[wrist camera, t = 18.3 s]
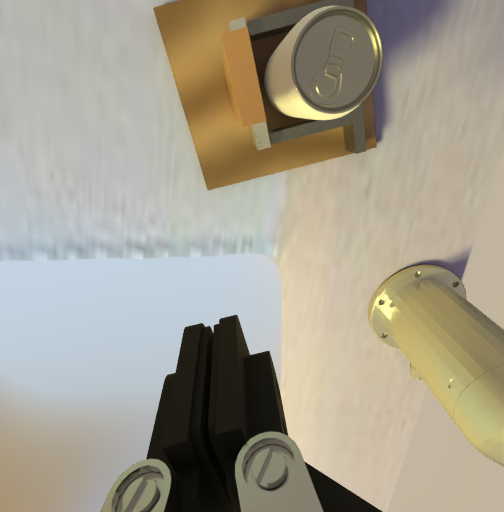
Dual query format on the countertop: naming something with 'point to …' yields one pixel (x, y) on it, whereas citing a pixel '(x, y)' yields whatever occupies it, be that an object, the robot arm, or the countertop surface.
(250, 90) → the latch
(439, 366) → the robot arm
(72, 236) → the countertop surface
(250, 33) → the can holder
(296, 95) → the can
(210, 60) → the rail board
